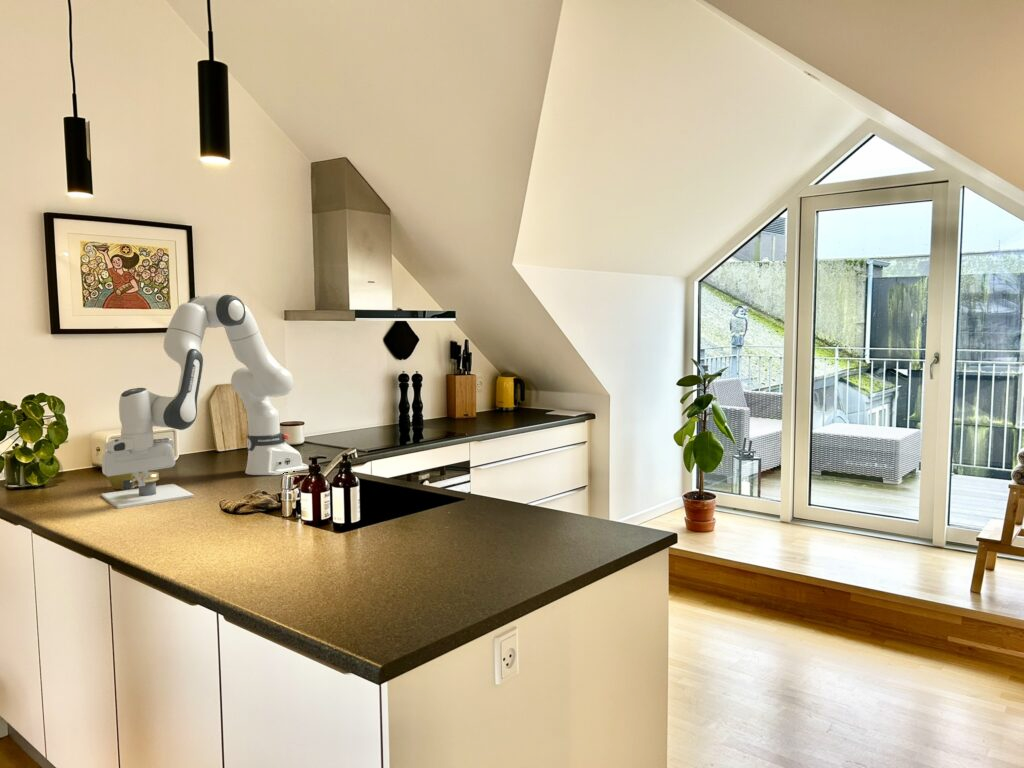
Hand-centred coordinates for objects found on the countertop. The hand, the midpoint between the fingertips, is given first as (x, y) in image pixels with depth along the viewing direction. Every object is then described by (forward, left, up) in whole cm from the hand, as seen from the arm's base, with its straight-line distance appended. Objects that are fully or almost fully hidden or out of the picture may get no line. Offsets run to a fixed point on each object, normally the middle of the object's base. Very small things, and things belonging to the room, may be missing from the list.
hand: (141, 485), depth 233 cm
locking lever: (0, -4, 0) cm, 4 cm away
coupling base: (-4, -8, -5) cm, 10 cm away
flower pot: (-2, -27, -6) cm, 28 cm away
